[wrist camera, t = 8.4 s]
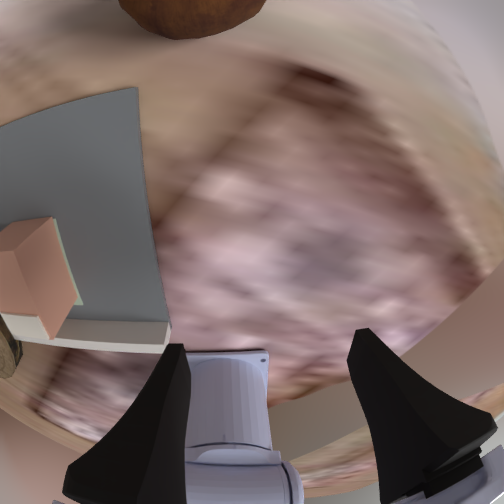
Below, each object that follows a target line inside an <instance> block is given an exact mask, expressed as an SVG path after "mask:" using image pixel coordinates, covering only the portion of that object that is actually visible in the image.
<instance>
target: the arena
mask: <svg viewBox="0 0 504 504" xmlns="http://www.w3.org/2000/svg"><path fill="white" fill-rule="evenodd" d="M44 217H52V218H53V222H54V226H55V229H56V233H57V237H58V240H59V243H60V247H61V250H62V253H63V256H64V260H65V263H66V266H67V269H68V272H69V274H70V277H71V280H72V283H73V286H74V288H75V291H76V293H77V296H78V298H77V300H76V301H75V303H74V305H73V306H72V308H71V310H70V311H69V313H68V315H67V317H66V318H65V320H64V322H63V324H62V325H61V327H60V329H59V331H58V333H57V335H56V336H55V338H54V340H47V339H39V338H32V337H25V336H19V335H13V334H12V332H11V331H10V332H11V334H12V336H13V337H14V339H16V340H22V341H27V342H34V343H40V344H47V345H55V346H62V347H71V348H80V349H90V350H102V351H116V352H133V353H159V354H163V352H164V350H165V348H166V346H167V345H168V344H169V339H170V334H171V329H172V325H171V321H170V317H169V313H168V308H167V304H166V300H165V295H164V290H163V286H162V281H161V276H160V271H159V266H158V261H157V255H156V250H155V244H154V238H153V232H152V226H151V219H150V213H149V206H148V199H147V191H146V183H145V174H144V165H143V156H142V145H141V132H140V118H139V99H138V87H134V88H128V89H123V90H118V91H113V92H108V93H104V94H100V95H95V96H91V97H87V98H83V99H80V100H76V101H72V102H69V103H65V104H62V105H59V106H55V107H52V108H49V109H46V110H43V111H40V112H37V113H35V114H32V115H29V116H26V117H24V118H21V119H19V120H16V121H14V122H11V123H9V124H6V125H4V126H2V127H0V232H1V231H2V230H3V229H4V228H6V227H7V226H8V225H9V224H11V223H12V222H17V221H23V220H30V219H37V218H44ZM0 314H1V312H0ZM1 316H2V314H1ZM2 318H3V316H2ZM3 320H4V318H3ZM4 321H5V320H4ZM5 323H6V322H5ZM6 325H7V324H6ZM7 327H8V325H7ZM8 329H9V327H8ZM9 330H10V329H9Z"/></svg>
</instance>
